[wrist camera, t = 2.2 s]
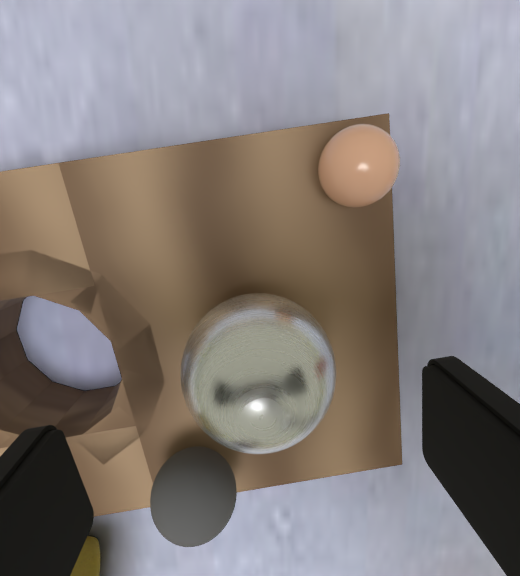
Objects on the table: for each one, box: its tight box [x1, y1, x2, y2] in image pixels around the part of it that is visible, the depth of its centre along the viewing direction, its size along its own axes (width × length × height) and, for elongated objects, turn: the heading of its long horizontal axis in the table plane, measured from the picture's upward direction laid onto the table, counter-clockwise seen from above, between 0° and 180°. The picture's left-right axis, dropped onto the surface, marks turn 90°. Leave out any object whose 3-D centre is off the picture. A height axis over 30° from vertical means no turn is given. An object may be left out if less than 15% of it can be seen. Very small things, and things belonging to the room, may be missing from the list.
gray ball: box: [150, 446, 237, 547], centre depth 15 cm, size 4×4×4 cm
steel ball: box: [180, 293, 336, 454], centre depth 13 cm, size 6×6×6 cm
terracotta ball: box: [318, 124, 400, 208], centre depth 12 cm, size 3×3×3 cm
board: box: [0, 113, 402, 516], centre depth 18 cm, size 24×18×4 cm
